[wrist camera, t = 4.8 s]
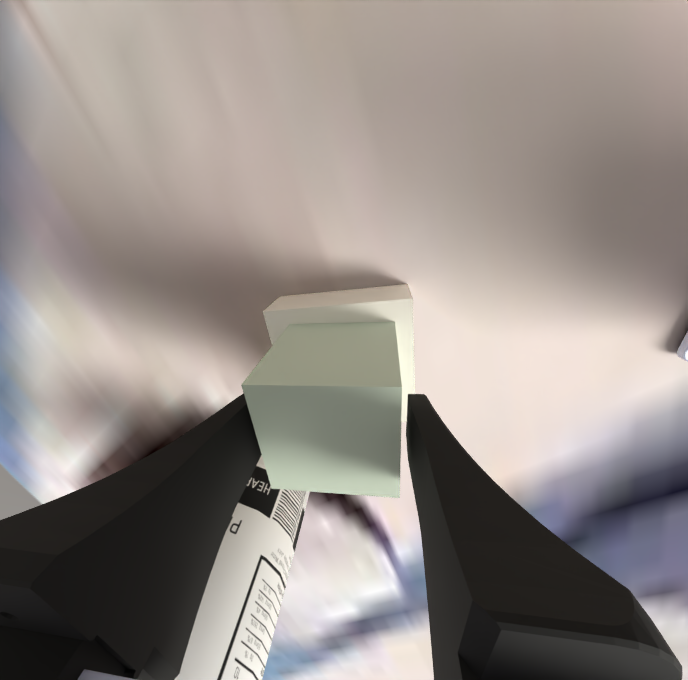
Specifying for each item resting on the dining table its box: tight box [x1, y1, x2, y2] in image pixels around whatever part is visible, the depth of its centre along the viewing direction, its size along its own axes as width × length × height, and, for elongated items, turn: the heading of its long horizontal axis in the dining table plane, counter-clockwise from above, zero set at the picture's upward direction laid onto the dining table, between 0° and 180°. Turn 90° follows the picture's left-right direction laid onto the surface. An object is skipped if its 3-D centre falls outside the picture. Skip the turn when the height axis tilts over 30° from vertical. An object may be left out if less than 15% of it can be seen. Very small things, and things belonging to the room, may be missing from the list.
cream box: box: [263, 284, 415, 422], centre depth 15 cm, size 7×7×3 cm
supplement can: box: [174, 455, 310, 680], centre depth 15 cm, size 8×8×15 cm
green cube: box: [242, 322, 402, 498], centre depth 12 cm, size 5×5×5 cm
